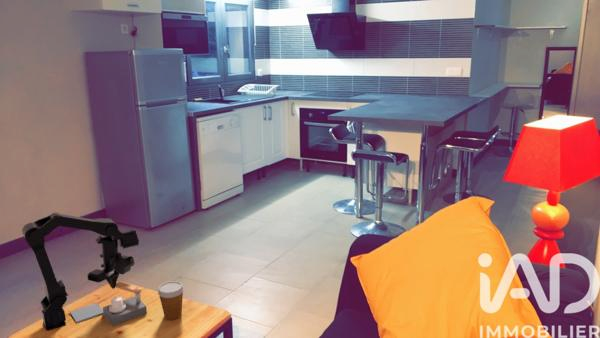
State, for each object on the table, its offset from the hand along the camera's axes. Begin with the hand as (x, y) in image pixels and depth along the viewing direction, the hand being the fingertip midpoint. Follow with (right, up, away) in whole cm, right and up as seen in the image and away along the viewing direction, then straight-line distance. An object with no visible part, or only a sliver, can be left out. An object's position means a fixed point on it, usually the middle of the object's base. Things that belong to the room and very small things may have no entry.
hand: (113, 288), depth 182 cm
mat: (-8, -8, -4) cm, 13 cm away
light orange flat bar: (+5, 0, 0) cm, 5 cm away
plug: (+5, -9, -6) cm, 12 cm away
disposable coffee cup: (+25, -9, -6) cm, 27 cm away
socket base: (+6, -8, -5) cm, 12 cm away
